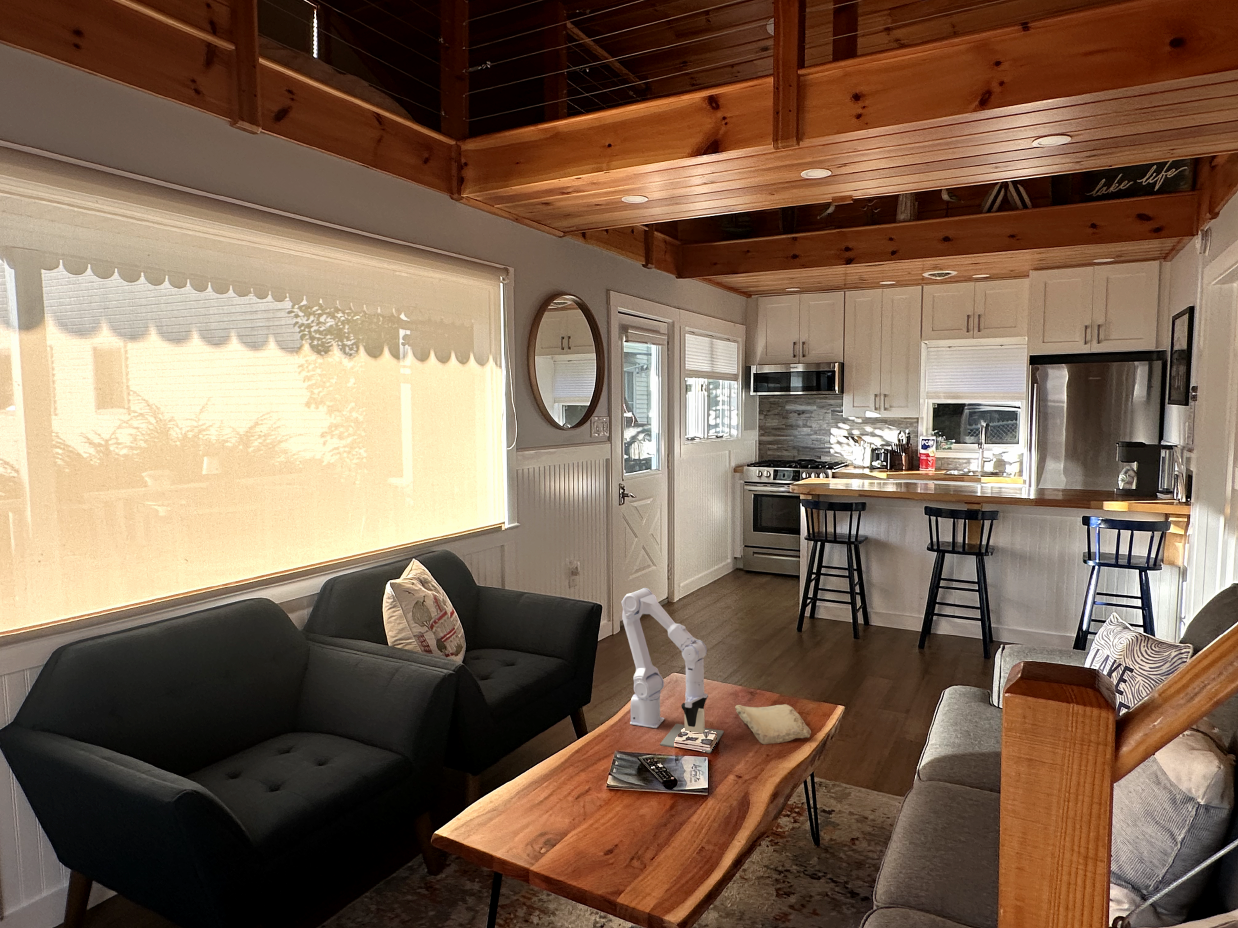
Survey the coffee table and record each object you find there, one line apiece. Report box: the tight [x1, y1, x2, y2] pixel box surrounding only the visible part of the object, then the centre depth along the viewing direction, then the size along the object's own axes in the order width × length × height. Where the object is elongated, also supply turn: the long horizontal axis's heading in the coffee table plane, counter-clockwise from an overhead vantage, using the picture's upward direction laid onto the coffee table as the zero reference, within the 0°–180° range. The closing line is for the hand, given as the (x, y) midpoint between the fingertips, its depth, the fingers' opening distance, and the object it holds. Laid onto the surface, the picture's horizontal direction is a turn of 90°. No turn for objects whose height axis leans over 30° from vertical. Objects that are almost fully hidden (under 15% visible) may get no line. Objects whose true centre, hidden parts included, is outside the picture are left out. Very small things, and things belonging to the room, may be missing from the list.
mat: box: [659, 723, 725, 754], centre depth 246 cm, size 16×16×1 cm
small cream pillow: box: [734, 703, 812, 745], centre depth 254 cm, size 24×8×20 cm
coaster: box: [683, 708, 706, 733], centre depth 249 cm, size 6×2×8 cm, turn 68°
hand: (695, 721), depth 249 cm, fingers open, 7 cm apart
